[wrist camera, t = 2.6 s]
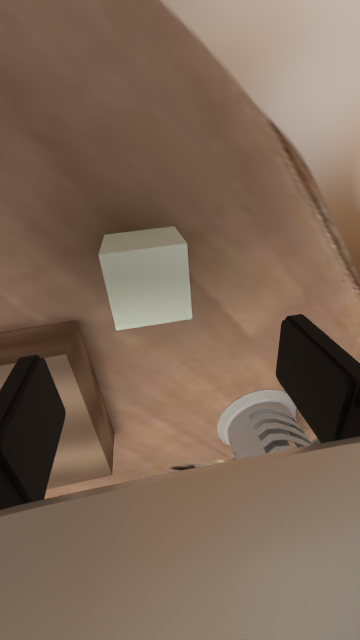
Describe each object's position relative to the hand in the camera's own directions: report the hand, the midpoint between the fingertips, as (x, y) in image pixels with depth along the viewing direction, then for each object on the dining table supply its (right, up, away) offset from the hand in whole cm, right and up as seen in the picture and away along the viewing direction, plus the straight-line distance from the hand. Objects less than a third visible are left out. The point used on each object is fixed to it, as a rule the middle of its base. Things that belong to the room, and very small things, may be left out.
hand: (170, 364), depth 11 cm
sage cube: (-2, +6, +10) cm, 12 cm away
